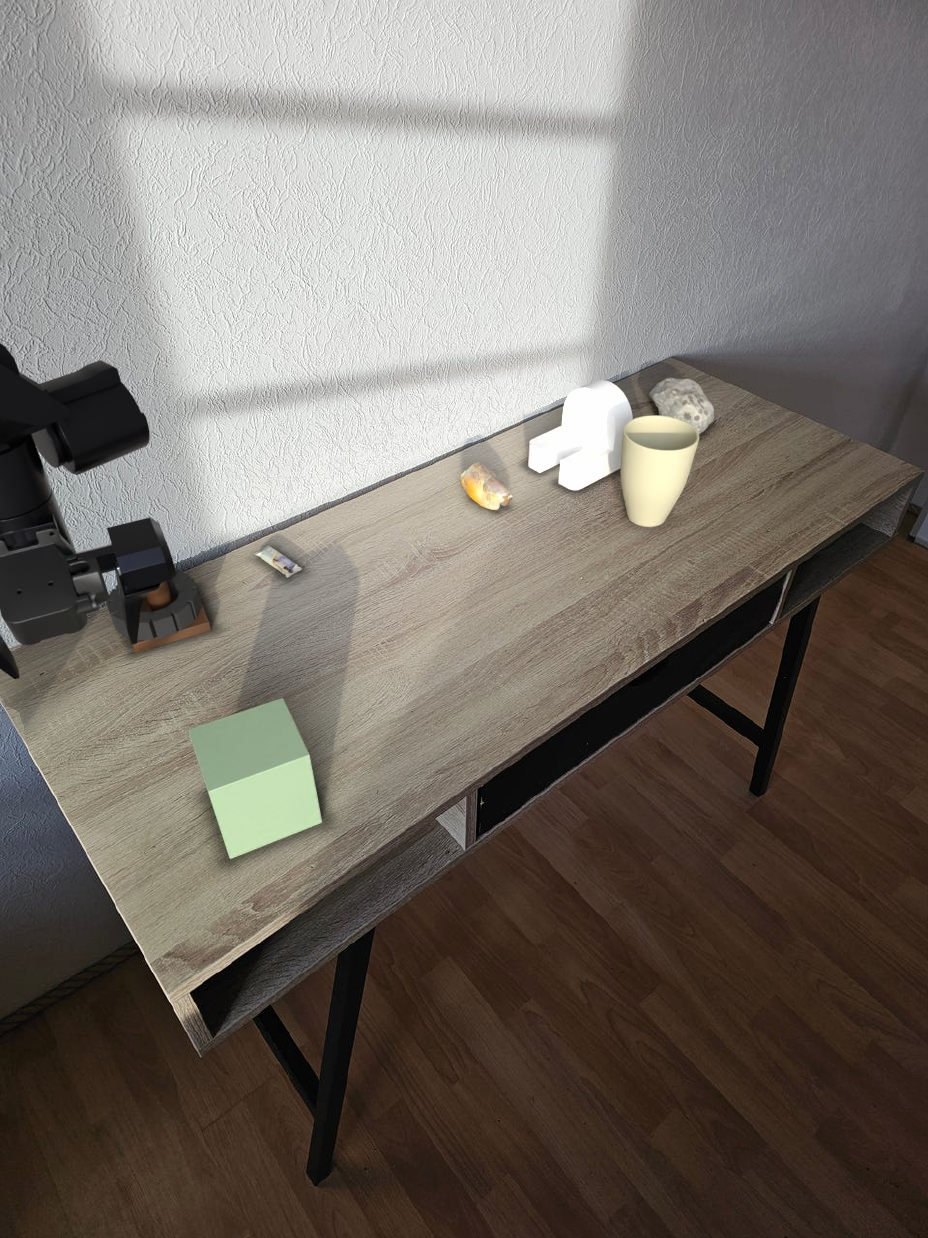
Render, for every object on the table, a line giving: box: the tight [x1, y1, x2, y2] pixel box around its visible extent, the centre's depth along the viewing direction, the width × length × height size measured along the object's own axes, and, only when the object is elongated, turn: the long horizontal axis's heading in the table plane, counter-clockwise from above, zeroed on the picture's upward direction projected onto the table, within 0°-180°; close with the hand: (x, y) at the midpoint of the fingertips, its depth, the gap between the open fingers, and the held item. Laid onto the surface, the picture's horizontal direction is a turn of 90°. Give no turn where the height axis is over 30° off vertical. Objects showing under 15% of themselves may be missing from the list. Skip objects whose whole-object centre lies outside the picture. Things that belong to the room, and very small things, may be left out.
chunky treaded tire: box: [105, 569, 203, 640], centre depth 89 cm, size 9×9×2 cm
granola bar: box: [254, 545, 303, 579], centre depth 97 cm, size 7×2×1 cm, turn 46°
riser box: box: [187, 697, 323, 860], centre depth 68 cm, size 8×7×9 cm
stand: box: [132, 581, 212, 654], centre depth 88 cm, size 8×8×7 cm
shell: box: [460, 462, 514, 511], centre depth 107 cm, size 8×4×5 cm, turn 49°
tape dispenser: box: [527, 379, 634, 491], centre depth 114 cm, size 10×18×11 cm, turn 131°
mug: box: [620, 414, 700, 528], centre depth 103 cm, size 11×10×12 cm
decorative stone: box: [648, 377, 715, 435], centre depth 125 cm, size 12×11×5 cm
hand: (76, 658), depth 68 cm, fingers open, 9 cm apart
